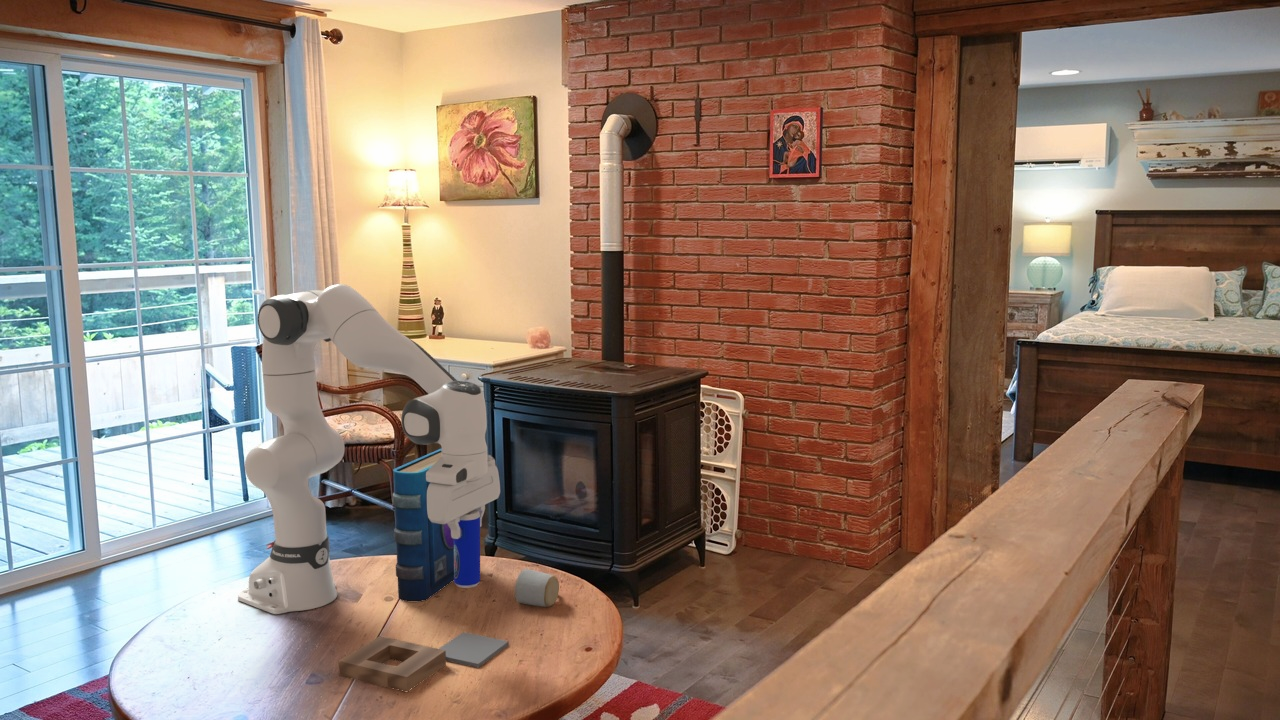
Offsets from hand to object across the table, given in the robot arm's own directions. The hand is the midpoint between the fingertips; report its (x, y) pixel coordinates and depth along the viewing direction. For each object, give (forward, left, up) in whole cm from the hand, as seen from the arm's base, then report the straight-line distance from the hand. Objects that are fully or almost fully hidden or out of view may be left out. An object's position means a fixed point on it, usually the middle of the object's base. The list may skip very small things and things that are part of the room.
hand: (466, 532), depth 189 cm
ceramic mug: (0, +28, -25) cm, 37 cm away
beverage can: (0, 0, -11) cm, 11 cm away
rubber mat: (0, 0, -25) cm, 25 cm away
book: (-28, +27, -25) cm, 46 cm away
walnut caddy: (-9, -13, -25) cm, 29 cm away
